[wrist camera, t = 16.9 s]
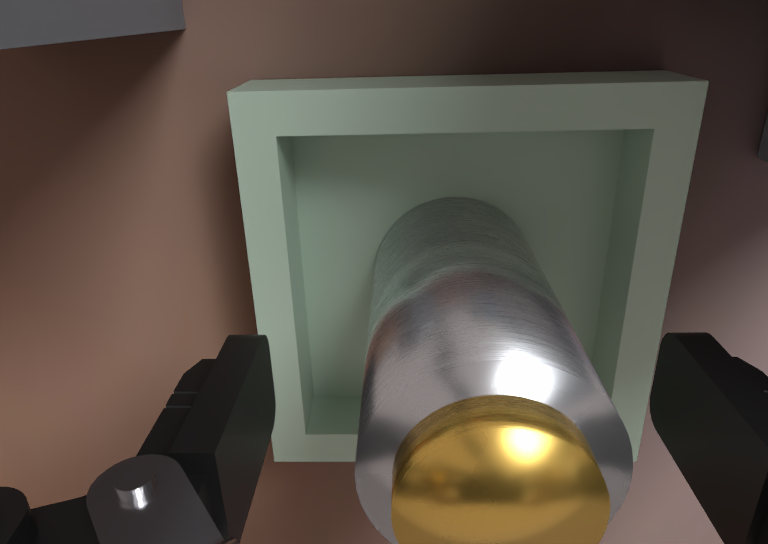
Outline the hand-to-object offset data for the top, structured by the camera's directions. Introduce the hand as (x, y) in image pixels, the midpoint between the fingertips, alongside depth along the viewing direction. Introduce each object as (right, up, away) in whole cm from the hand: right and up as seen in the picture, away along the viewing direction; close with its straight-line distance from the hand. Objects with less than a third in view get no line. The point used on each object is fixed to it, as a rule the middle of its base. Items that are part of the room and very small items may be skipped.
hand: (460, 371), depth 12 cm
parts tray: (0, +2, +5) cm, 6 cm away
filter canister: (0, +2, +5) cm, 5 cm away
